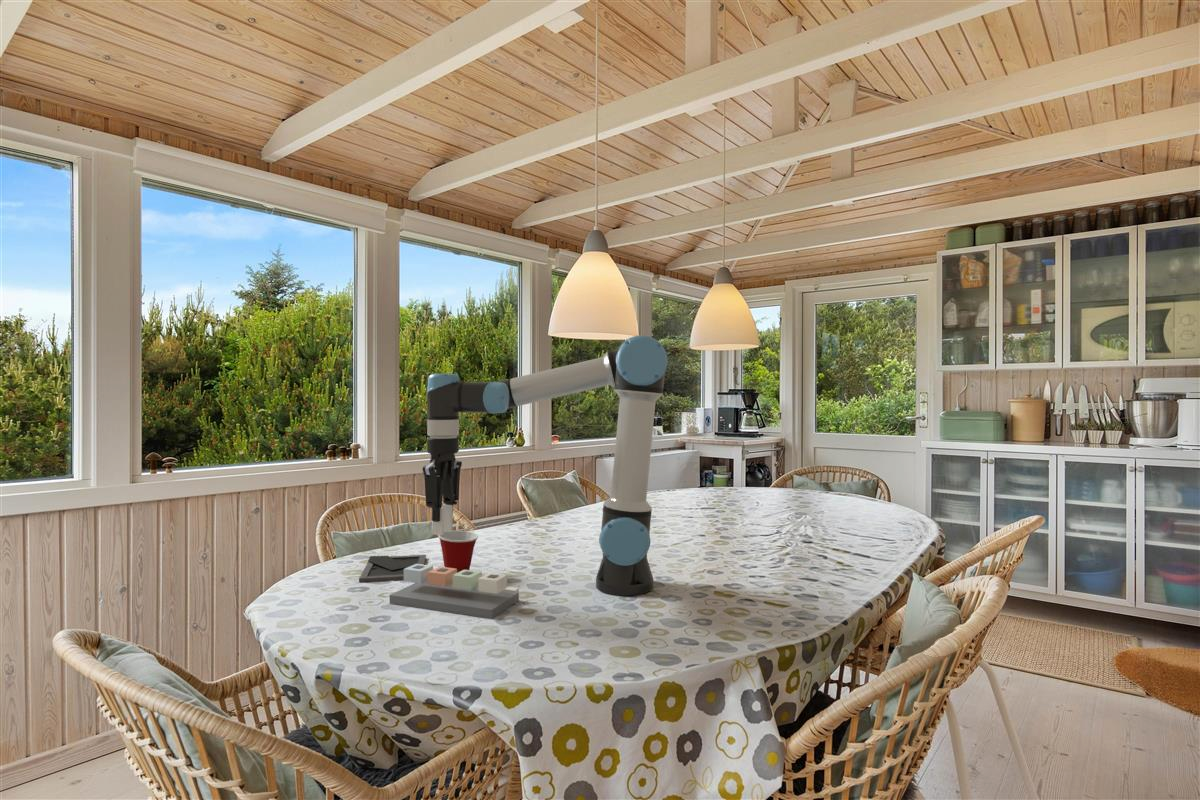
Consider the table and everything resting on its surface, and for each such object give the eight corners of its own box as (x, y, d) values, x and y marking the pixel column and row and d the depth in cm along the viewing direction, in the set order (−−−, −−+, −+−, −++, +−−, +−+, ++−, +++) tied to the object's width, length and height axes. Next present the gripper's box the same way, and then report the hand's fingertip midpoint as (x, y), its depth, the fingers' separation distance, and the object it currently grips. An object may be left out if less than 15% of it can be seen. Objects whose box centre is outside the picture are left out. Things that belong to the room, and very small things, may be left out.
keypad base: (518, 600, 151) (518, 588, 151) (491, 618, 139) (492, 605, 139) (422, 587, 161) (422, 575, 161) (389, 603, 148) (389, 590, 148)
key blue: (433, 577, 155) (433, 565, 155) (420, 583, 150) (420, 570, 150) (416, 575, 157) (416, 563, 156) (403, 581, 152) (403, 568, 152)
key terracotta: (457, 580, 152) (457, 568, 152) (445, 586, 148) (445, 573, 148) (439, 578, 154) (439, 565, 154) (427, 584, 149) (427, 571, 149)
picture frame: (370, 562, 185) (359, 584, 164) (370, 556, 185) (359, 576, 164) (425, 559, 188) (421, 580, 168) (425, 553, 188) (421, 573, 168)
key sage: (481, 584, 150) (481, 571, 150) (470, 590, 145) (470, 576, 145) (464, 581, 152) (464, 568, 152) (452, 587, 147) (452, 574, 147)
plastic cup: (468, 585, 163) (468, 539, 163) (430, 582, 165) (430, 537, 165) (484, 573, 173) (484, 530, 173) (448, 570, 176) (448, 528, 175)
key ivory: (507, 587, 148) (507, 574, 148) (496, 593, 143) (496, 580, 143) (489, 584, 149) (489, 571, 149) (478, 591, 145) (478, 577, 145)
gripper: (448, 434, 159) (448, 525, 160) (409, 438, 144) (409, 538, 144) (473, 435, 157) (473, 527, 157) (436, 439, 142) (436, 541, 142)
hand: (442, 532), depth 151 cm, fingers open, 3 cm apart
